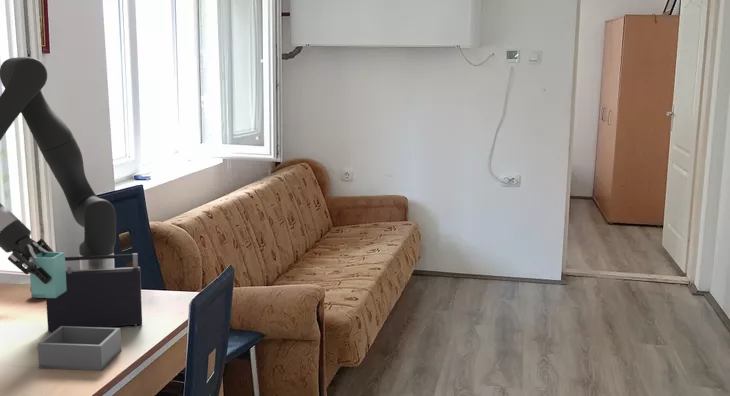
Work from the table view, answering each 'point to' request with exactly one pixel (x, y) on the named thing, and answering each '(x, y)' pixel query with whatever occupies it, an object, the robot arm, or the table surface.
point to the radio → (98, 296)
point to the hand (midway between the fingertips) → (55, 277)
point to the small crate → (56, 269)
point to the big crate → (79, 348)
